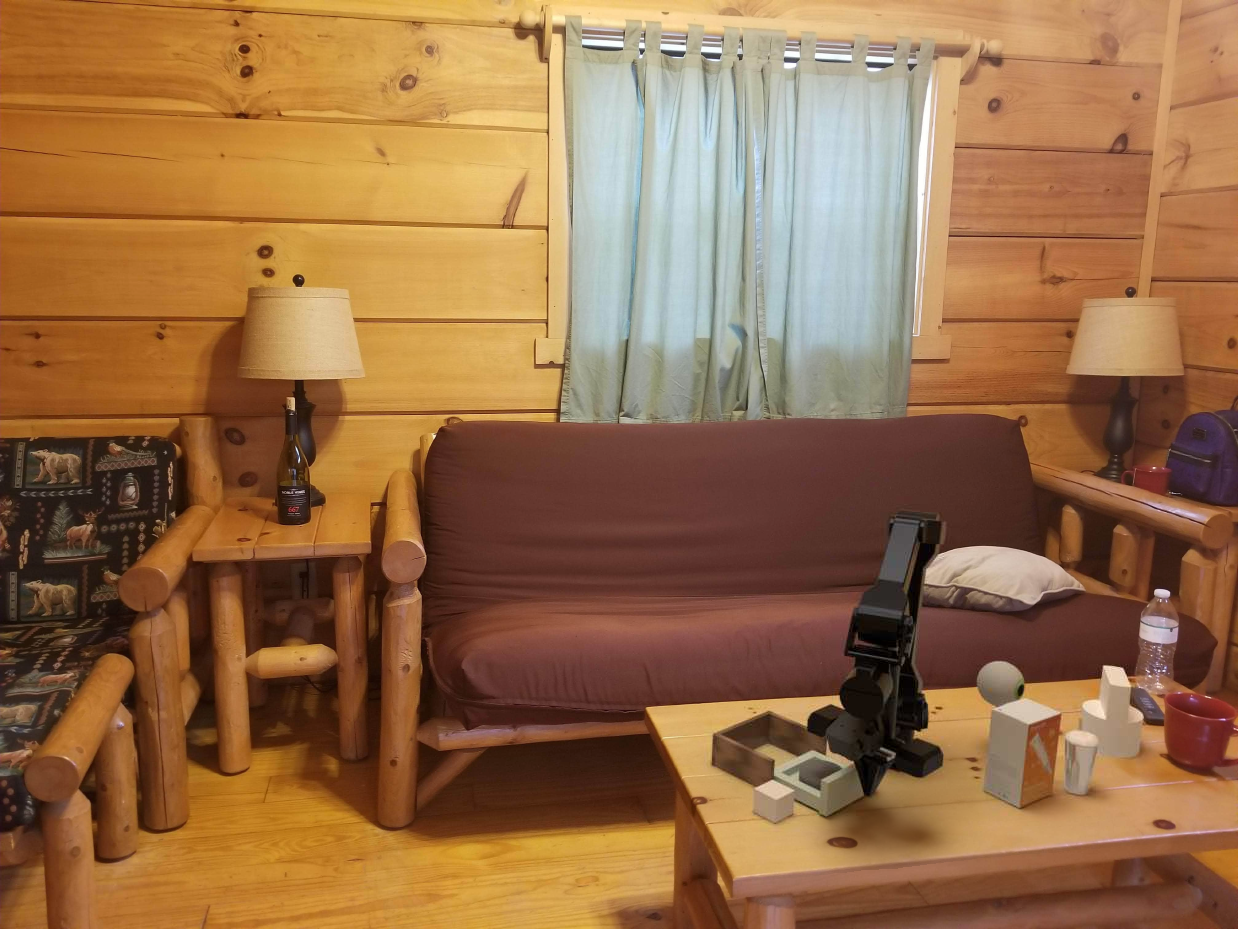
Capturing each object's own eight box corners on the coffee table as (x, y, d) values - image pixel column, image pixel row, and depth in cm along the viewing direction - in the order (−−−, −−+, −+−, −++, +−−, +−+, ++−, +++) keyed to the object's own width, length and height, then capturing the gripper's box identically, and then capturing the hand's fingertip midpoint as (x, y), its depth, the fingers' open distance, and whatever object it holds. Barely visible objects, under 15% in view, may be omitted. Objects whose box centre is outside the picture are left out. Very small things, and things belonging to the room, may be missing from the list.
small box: (1019, 810, 142) (1028, 724, 139) (982, 790, 147) (990, 708, 145) (1053, 795, 146) (1062, 712, 144) (1015, 777, 151) (1024, 696, 149)
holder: (711, 764, 153) (712, 733, 152) (767, 739, 162) (769, 710, 161) (769, 793, 145) (771, 761, 144) (825, 765, 153) (827, 735, 152)
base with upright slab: (1143, 762, 157) (1152, 690, 155) (1081, 752, 160) (1089, 682, 158) (1134, 738, 166) (1142, 670, 163) (1075, 729, 168) (1083, 662, 166)
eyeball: (1003, 766, 155) (1012, 674, 152) (962, 749, 160) (970, 661, 157) (1025, 752, 159) (1035, 664, 157) (984, 737, 165) (992, 651, 162)
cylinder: (816, 768, 150) (817, 755, 150) (852, 784, 146) (852, 771, 145) (789, 781, 146) (790, 768, 146) (825, 798, 141) (826, 785, 141)
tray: (763, 785, 146) (765, 753, 145) (813, 761, 154) (815, 731, 153) (826, 816, 138) (828, 783, 137) (875, 789, 146) (878, 757, 145)
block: (771, 802, 142) (772, 779, 141) (793, 813, 139) (794, 790, 138) (752, 811, 139) (754, 788, 139) (775, 823, 136) (776, 800, 136)
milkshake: (1090, 783, 150) (1097, 721, 148) (1094, 800, 145) (1102, 736, 143) (1057, 778, 151) (1064, 716, 150) (1060, 794, 146) (1067, 730, 145)
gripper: (785, 684, 138) (779, 788, 141) (903, 731, 125) (894, 844, 128) (833, 665, 146) (827, 764, 148) (949, 707, 132) (940, 815, 135)
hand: (868, 795), depth 140 cm, fingers closed
